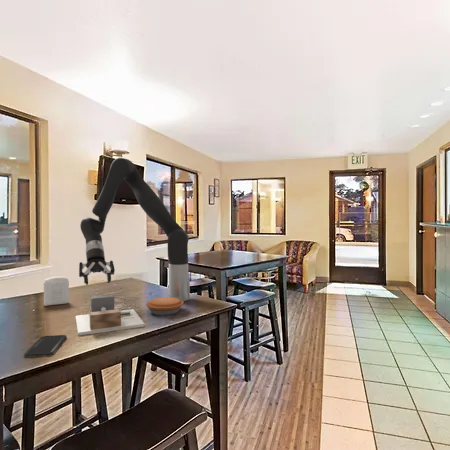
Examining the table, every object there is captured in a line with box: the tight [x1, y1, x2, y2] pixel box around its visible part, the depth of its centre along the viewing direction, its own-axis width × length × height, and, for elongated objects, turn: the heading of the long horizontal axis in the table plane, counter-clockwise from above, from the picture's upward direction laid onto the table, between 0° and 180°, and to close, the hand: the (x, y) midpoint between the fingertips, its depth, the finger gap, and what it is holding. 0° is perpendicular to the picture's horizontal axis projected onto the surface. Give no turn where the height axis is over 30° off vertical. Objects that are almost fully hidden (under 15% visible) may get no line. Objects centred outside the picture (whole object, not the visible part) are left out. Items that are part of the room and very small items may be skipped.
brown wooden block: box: [89, 308, 122, 330], centre depth 120 cm, size 10×4×5 cm, turn 115°
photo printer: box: [43, 275, 70, 307], centre depth 154 cm, size 10×4×12 cm, turn 123°
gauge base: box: [75, 308, 145, 336], centre depth 128 cm, size 22×21×1 cm
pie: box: [145, 296, 185, 316], centre depth 143 cm, size 15×16×5 cm
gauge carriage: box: [90, 294, 130, 315], centre depth 128 cm, size 14×7×8 cm, turn 115°
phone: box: [23, 334, 67, 358], centre depth 104 cm, size 8×1×15 cm
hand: (98, 282), depth 143 cm, fingers open, 8 cm apart
